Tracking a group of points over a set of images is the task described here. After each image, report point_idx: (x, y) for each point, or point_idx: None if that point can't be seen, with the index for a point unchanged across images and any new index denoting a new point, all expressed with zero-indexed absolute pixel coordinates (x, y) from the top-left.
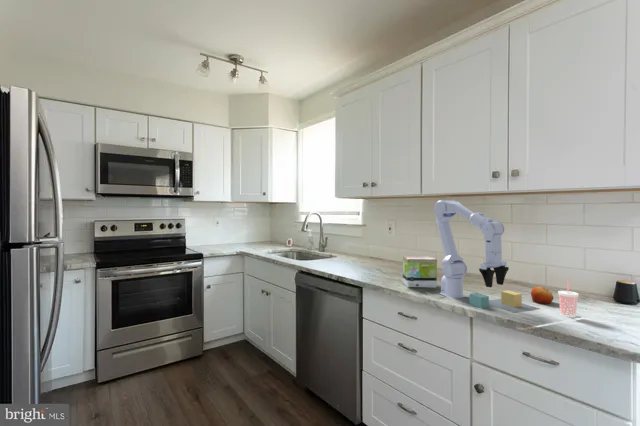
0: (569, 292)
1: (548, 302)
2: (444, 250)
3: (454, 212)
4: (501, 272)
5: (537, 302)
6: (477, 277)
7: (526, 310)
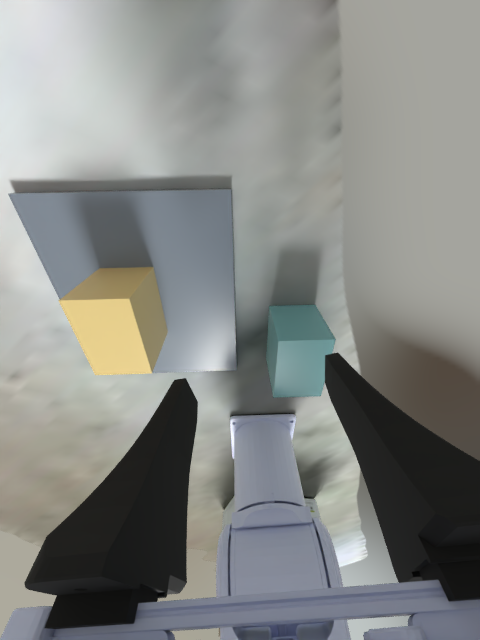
0: None
1: None
2: None
3: None
4: (160, 496)
5: None
6: (42, 520)
7: (124, 198)
